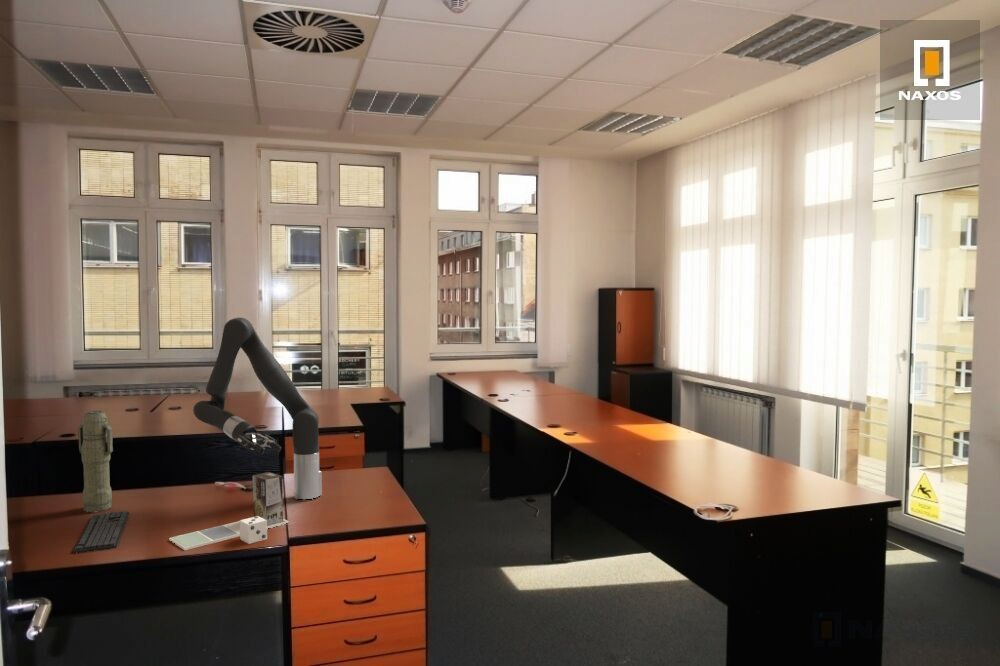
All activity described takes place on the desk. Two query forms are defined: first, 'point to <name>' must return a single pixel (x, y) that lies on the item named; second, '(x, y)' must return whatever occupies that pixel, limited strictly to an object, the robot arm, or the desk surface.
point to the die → (253, 529)
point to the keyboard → (102, 532)
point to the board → (211, 535)
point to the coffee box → (268, 497)
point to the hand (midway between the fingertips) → (271, 450)
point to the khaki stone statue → (96, 460)
